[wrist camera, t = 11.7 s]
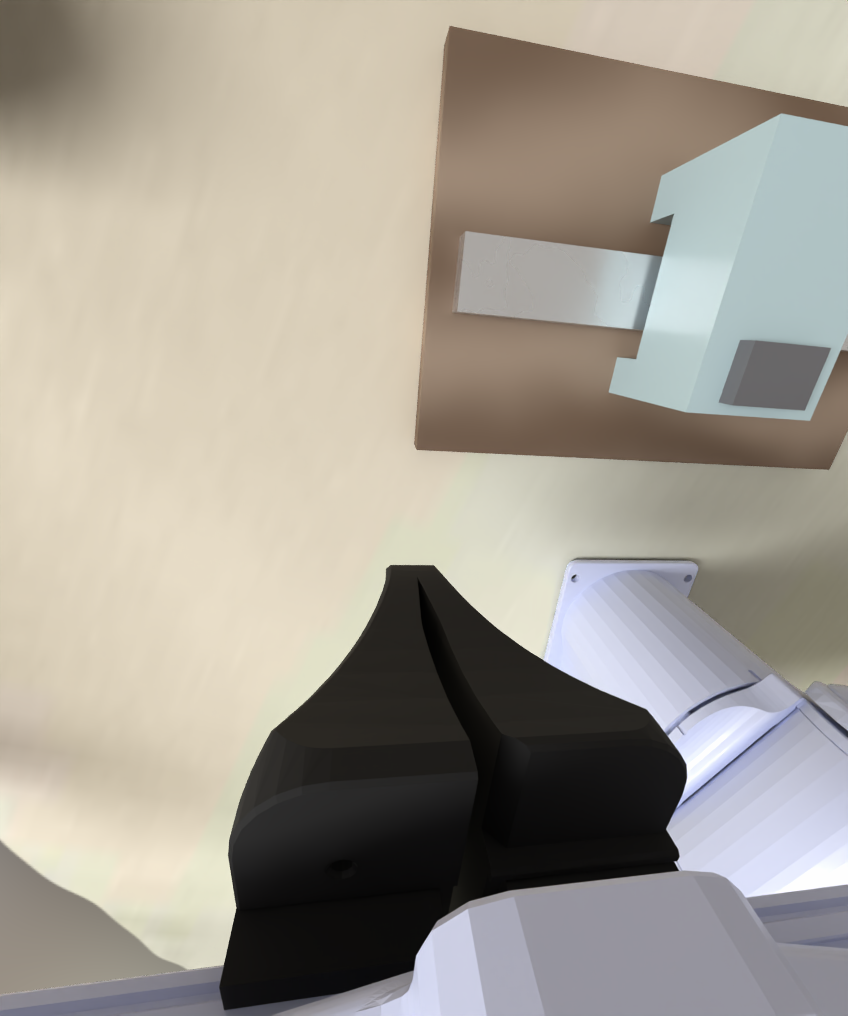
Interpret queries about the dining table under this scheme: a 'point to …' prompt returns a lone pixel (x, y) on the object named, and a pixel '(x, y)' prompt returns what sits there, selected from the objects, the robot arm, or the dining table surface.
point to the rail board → (576, 258)
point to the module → (749, 276)
